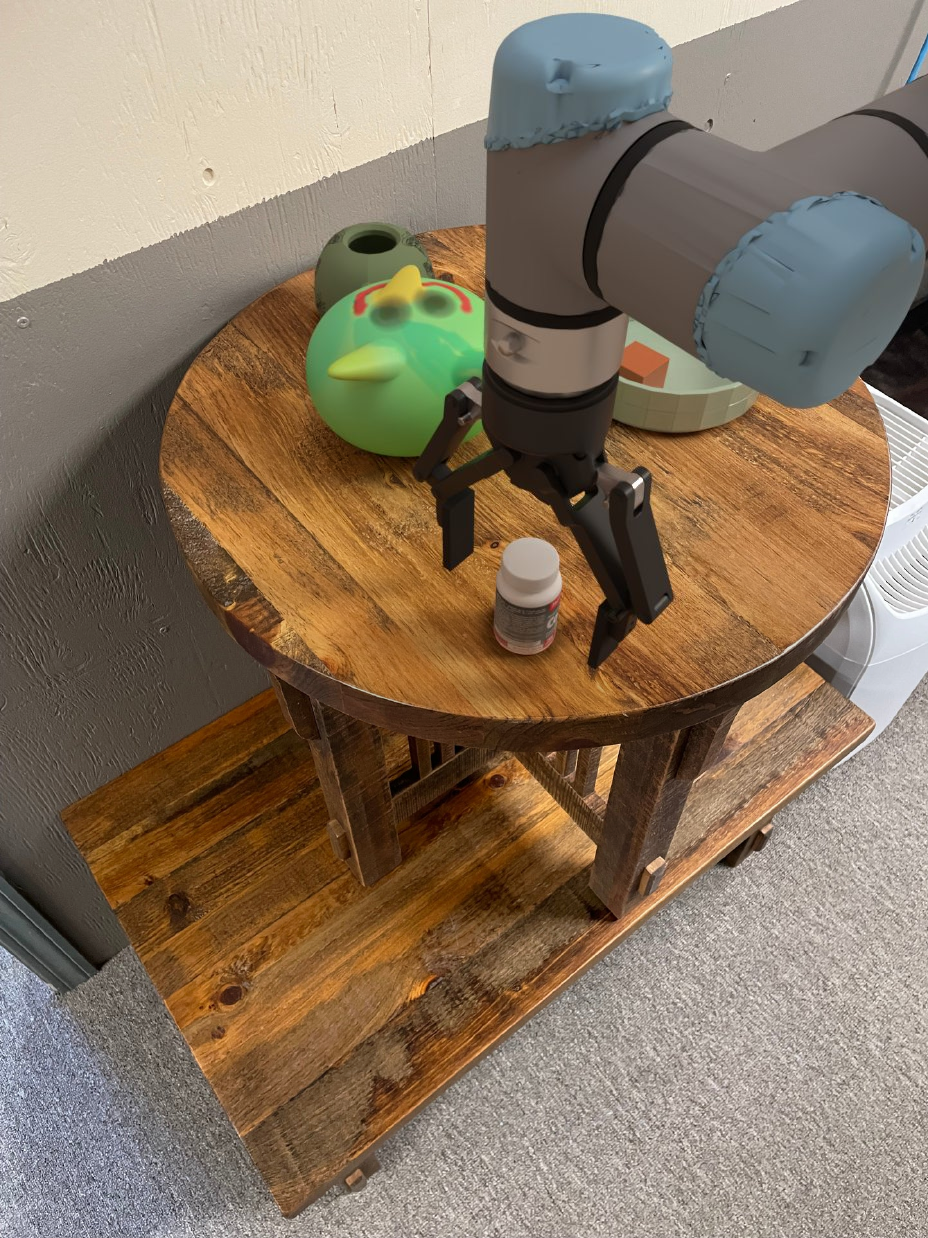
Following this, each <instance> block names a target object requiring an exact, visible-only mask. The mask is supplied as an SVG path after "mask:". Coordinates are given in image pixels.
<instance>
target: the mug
mask: <svg viewBox="0 0 928 1238" xmlns="http://www.w3.org/2000/svg"><path fill="white" fill-rule="evenodd" d="M316 263H317V264H316V266H315V270H314V281H313V282H314V285H313V293H314V303H315V304H314V305H315V307H316V309H317V312H318V315H319V318H320V320H321V319H322V317H323V316H324V315H325V314H326V312H327V311H328V310H329V309H330V308H331V307H332V306H333V305H335V304H336V303H337V302H338V301H340V300H341V299H342V298H344V297H345V296H347V295H349V294H350V293H352V292H354V291H356V290H358V289H360V288H363V287H365V286H368V285H370V284H373V283H377V282H380V281H384V280H389V279H392V278H393V277H394V276H395V275H396V274H397V273H398V272H399V271H400V270H401V269H402V268H404V267H405V266H408V265H414V266H416V267H417V268H418V270H419V272H420V277H421V278H430V279H436V275H435V270H434V267H433V263H432V260H431V258H430V256H429V254H428V251H427V250H426V248H425V246H424V245H423V244H422V242H421V241H420V240H419V239H418V238H417V237H416V236H415V235H413V234H412V233H411V232H410V231H408V230H407V229H406V228H404V227H401V226H398V225H396V224H393V223H389V222H381V221H380V222H379V221H371V222H370V221H369V222H359V223H356V224H352V225H349V226H346V227H343V228H342V229H341V230H339V231H337V232H336V233H334V234H333V235H332V236H331V237H330V239H328V241H327V242H326V244H325V245H324V247H323V248H322V250H321V252H320V255H319V257H318V260H317V262H316Z"/></svg>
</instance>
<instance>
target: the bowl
mask: <svg viewBox="0 0 928 1238" xmlns="http://www.w3.org/2000/svg"><path fill="white" fill-rule="evenodd" d="M634 341H637V342H639V343H641V344H643V345H645V346H647V347H649V348H651V349H653V350H655V351H656V352H658V353H660V354H662V355H664V356H666V357H668V358H670V360H669V365H668V369H667V374H666V378H665V383H664V387H663V388H656V387H651V386H647V385H644V384H640V383H637V382H634V381H630V380H627V379H625V378H623V377H621V376H619V382H618V387H617V393H616V399H615V405H614V410H613V416H612V420H614V421H617V422H619V423H622V424H625V425H627V426H630V427H633V428H637V429H642V430H645V431H651V432H657V433H658V432H659V433H669V434H675V433H676V434H679V433H680V434H681V433H682V434H683V433H694V432H700V431H704V430H708V429H712V428H715V427H719V426H723V425H725V424H728V423H730V422H731V421H734V420H735V419H737V418H740V417H742V416H743V415H745V413H746V412H747V411H749V409H751V408H752V407H753V406H754V405H755V404H756V403H757V401H758V400H759V397H760V395H761V393H759V392H757V391H755V390H753V389H751V388H749V387H748V386H746V385H744V384H742V383H740V382H735V383H734V382H732V381H730V380H729V379H727V378H724V379H722V378H721V377H719V376H718V375H716V374H715V372H714V371H710V370H709V369H708V368H707V367H706V364H704V363H703V362H701V361H700V360H698V359H696V358H695V357H693V356H692V355H690V354H688V353H687V352H685V351H684V350H682V349H680V348H679V347H677V346H676V345H674V344H673V343H671V342H669V341H668V340H666V339H665V338H663V337H661V336H660V335H658V334H657V333H655V332H654V331H652V330H650V329H649V328H647V327H646V326H644V325H642V324H641V323H639V322H638V321H636V320H635V319H633V318H631V317H629V324H628V330H627V336H626V342H625V347H627V346H628V345H630V344H631V343H633V342H634Z"/></svg>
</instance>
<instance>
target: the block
mask: <svg viewBox="0 0 928 1238" xmlns="http://www.w3.org/2000/svg"><path fill="white" fill-rule="evenodd" d="M669 360H670V358H668V357H666V356H664V355H662V354H660V353H658V352H656V351H655V350H653V349H651V348H649V347H647V346H645V345H643V344H641V343H639V342H637V341H634V342H633V343H631V344H630V345H628V346H627V347H625V349H624V355H623V361H622V364H621V366H620V368H619V376H621V377H623V378H625V379H627V380H630V381H634V382H637V383H640V384H644V385H647V386H651V387H656V388H663V387H664V383H665V378H666V374H667V369H668V365H669Z"/></svg>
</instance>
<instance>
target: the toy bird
mask: <svg viewBox="0 0 928 1238" xmlns="http://www.w3.org/2000/svg"><path fill="white" fill-rule="evenodd" d="M484 303H485V300H483V299H482V298H481V297H480V296H478V295H477V294H476V293H473V292H472V291H470V290H469V289H466V288H465V287H462V286H460V285H457V284H456V283H452V282H448V281H445V280H441V279H436V278H435V279H430V278H421V277H420V272H419V270H418V268H417V267H416V266H414V265H408V266H405V267H404V268H402V269H401V270H400V271H399V272H398V273H397V274H396V275H395V276H394V277H393V278H392V279H389V280H384V281H380V282H377V283H373V284H370V285H368V286H365V287H363V288H360V289H358V290H356V291H354V292H352V293H350V294H349V295H347V296H345V297H344V298H342V299H341V300H340V301H338V302H337V303H336V304H335V305H333V306H332V307H331V308H330V309H329V310H328V311H327V312H326V314H325V315H324V316H323V317H322V319H321V318H320V320H319V322H318V323H317V325H316V326H315V328H314V330H313V332H312V334H311V337H310V340H309V343H308V346H307V350H306V354H305V355H306V357H305V379H306V385H307V389H308V392H309V396H310V398H311V401H312V403H313V405H314V408H315V409H316V411H317V413H318V415H319V417H321V419H322V420H323V422H324V423H325V424H326V425H327V426H328V427H329V429H330V430H332V431H333V432H334V433H335V434H336V435H337V436H338V437H340V438H341V439H343V440H344V441H345V442H347V443H349V444H351V445H352V446H355V447H357V448H359V449H361V450H364V451H366V452H369V453H373V454H378V455H381V456H382V455H383V456H387V457H388V456H390V457H400V458H401V457H404V458H407V457H410V458H411V457H413V458H414V457H420V456H421V454H422V452H423V451H424V449H425V447H426V446H427V444H428V442H429V441H430V439H431V437H432V436H433V434H434V432H435V431H436V429H437V427H438V426H439V424H440V422H441V421H442V419H443V413H444V402H445V396H446V395H447V394H449V393H450V392H452V391H453V390H454V389H456V388H457V387H458V386H460V385H461V384H463V383H464V382H466V381H467V380H469V379H470V378H472V377H473V376H476V377H479V378H480V379H481V380H482V365H483V361H484V358H485V356H484V348H483V341H484ZM482 432H484V429H483V426H482V419H480V420H479V421H477V422H476V423H475V424H474V425H473V426H472V428H471V429H470V431H469V432H468V433H467V435H466V436H465V438H464V439H463V441H462V442H461V444H460V445H459V446H461V445H463V444H465V443H467V442H469V441H470V440H472V439H474V438H476V437H477V436H478V435H479V434H481V433H482Z"/></svg>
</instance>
